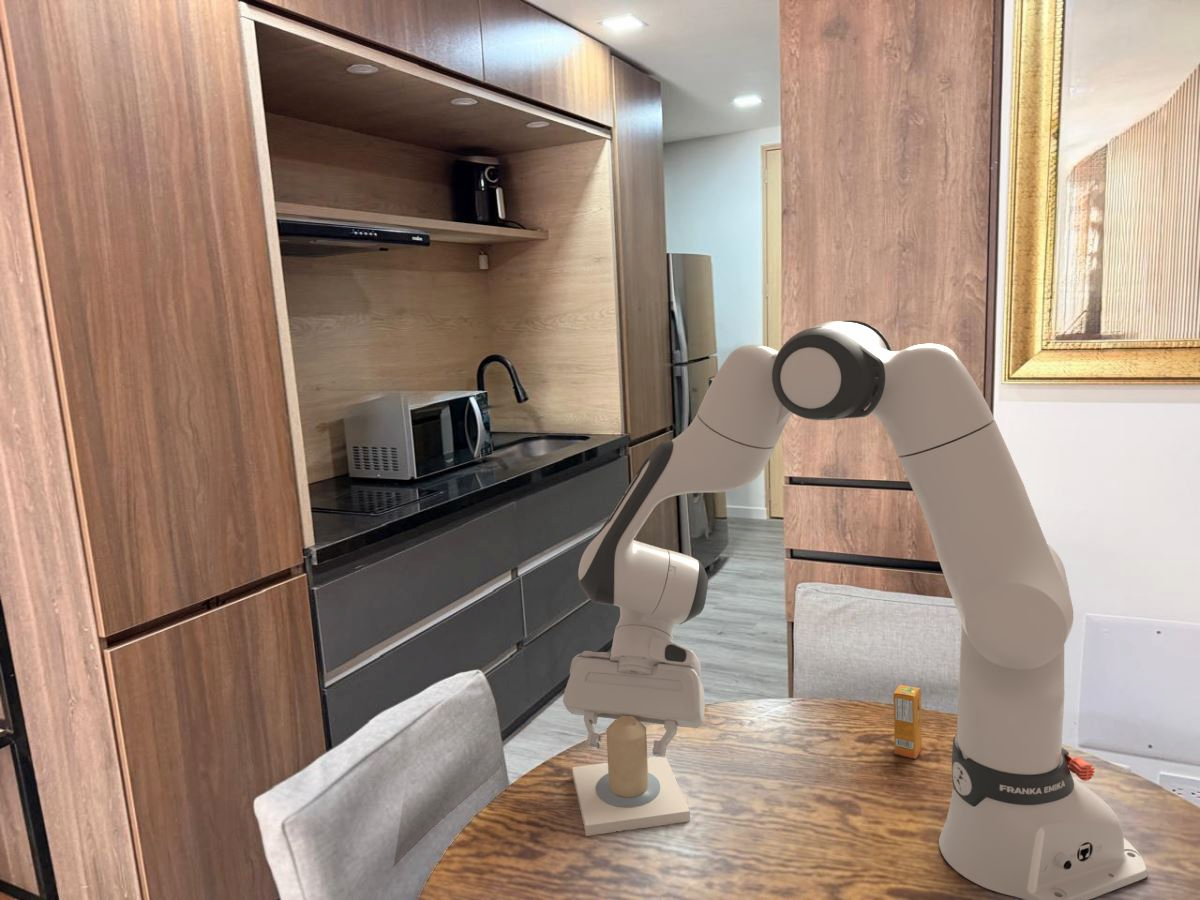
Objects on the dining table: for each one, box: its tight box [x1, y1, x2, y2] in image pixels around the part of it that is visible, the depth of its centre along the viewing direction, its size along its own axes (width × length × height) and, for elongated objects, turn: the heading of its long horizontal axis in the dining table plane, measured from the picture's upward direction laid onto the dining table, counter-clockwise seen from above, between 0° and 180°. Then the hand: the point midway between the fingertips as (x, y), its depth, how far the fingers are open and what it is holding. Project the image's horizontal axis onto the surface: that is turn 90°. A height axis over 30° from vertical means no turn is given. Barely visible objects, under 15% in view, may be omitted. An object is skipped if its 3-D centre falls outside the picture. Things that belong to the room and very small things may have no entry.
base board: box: [572, 755, 691, 837], centre depth 113 cm, size 14×14×2 cm
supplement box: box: [892, 684, 923, 760], centre depth 121 cm, size 3×3×10 cm
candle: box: [605, 716, 648, 798], centre depth 112 cm, size 6×6×10 cm
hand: (625, 751), depth 112 cm, fingers open, 8 cm apart
